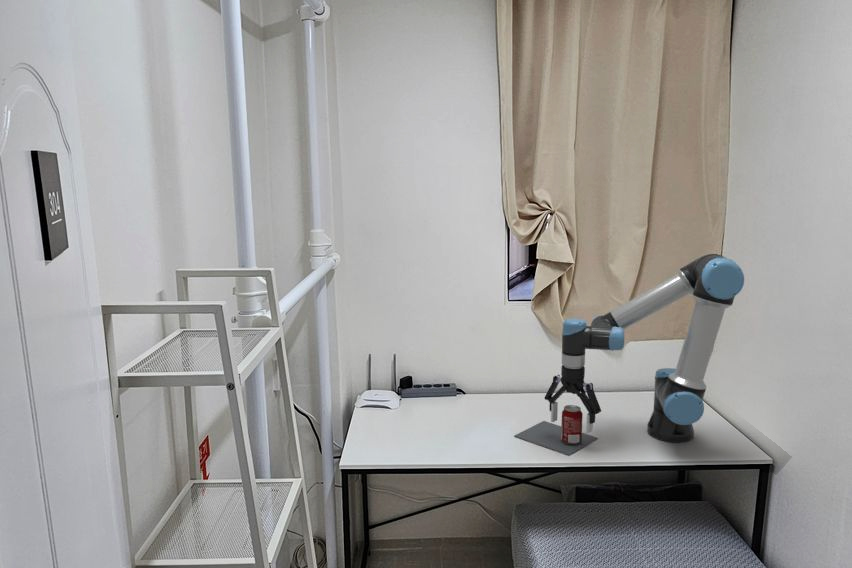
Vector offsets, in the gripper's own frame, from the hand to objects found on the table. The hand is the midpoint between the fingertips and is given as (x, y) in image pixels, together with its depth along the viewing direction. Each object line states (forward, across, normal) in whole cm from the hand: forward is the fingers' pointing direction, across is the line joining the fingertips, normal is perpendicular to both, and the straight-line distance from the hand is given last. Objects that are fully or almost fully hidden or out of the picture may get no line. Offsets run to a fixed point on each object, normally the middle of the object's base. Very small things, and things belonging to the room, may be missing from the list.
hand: (571, 426), depth 211 cm
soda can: (+6, 0, 0) cm, 6 cm away
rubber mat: (+6, +6, 0) cm, 8 cm away
